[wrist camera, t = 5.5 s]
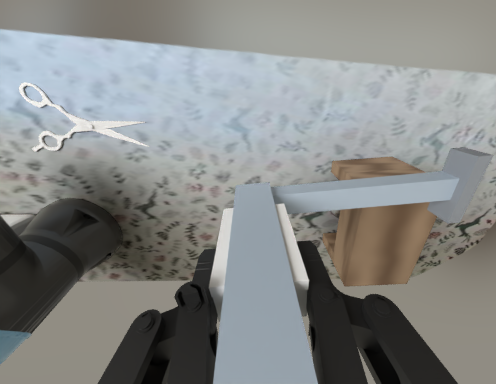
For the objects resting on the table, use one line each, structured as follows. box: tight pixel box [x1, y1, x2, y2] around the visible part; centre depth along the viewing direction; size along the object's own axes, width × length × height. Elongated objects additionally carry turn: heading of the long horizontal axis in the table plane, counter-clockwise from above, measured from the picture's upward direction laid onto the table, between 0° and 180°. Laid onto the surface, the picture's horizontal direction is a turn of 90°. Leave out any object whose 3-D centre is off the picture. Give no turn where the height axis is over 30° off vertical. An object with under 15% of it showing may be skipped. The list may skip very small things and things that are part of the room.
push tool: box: [213, 147, 493, 384], centre depth 11 cm, size 19×6×16 cm, turn 96°
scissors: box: [19, 83, 150, 151], centre depth 31 cm, size 11×1×20 cm
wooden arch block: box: [323, 157, 437, 286], centre depth 33 cm, size 10×18×11 cm, turn 5°
